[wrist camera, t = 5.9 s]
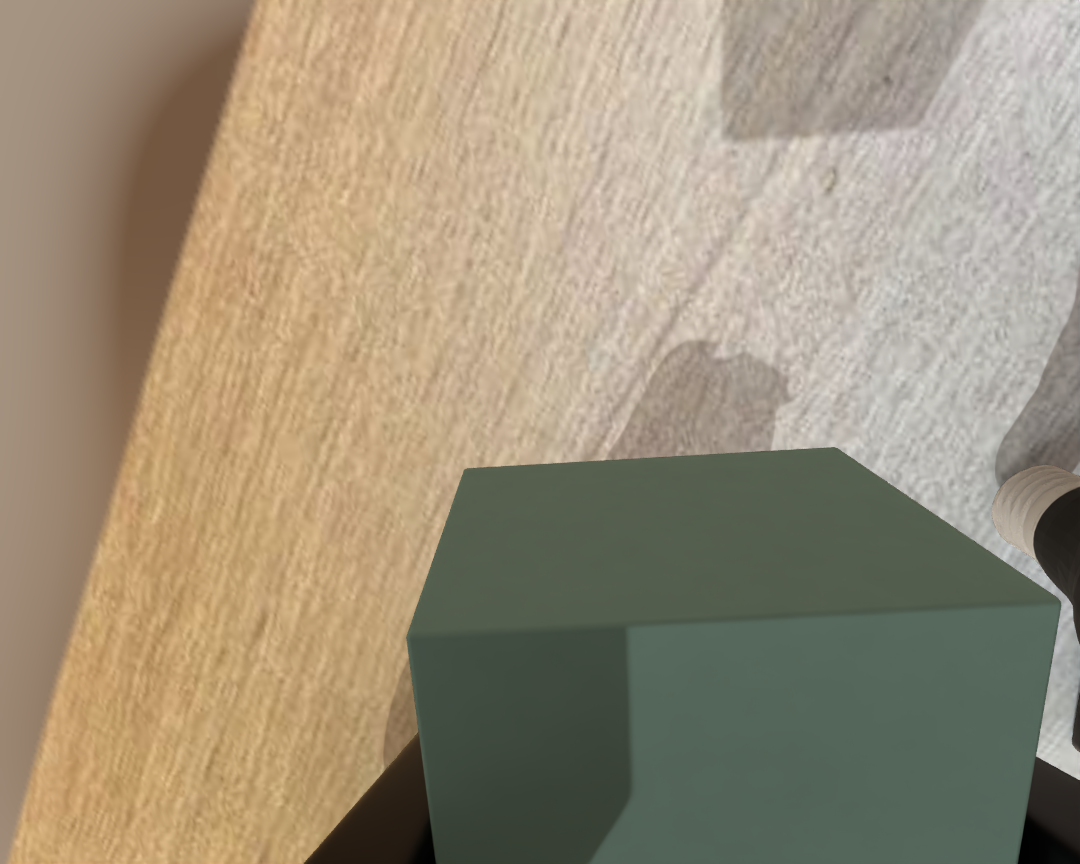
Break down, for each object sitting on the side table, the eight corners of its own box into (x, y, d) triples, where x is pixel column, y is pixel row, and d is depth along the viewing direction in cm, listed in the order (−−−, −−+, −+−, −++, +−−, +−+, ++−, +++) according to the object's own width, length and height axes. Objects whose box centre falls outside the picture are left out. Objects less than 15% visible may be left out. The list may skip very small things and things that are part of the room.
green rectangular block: (836, 445, 9) (1065, 600, 5) (812, 834, 11) (968, 1172, 7) (463, 467, 9) (404, 634, 5) (500, 848, 11) (476, 1190, 7)
